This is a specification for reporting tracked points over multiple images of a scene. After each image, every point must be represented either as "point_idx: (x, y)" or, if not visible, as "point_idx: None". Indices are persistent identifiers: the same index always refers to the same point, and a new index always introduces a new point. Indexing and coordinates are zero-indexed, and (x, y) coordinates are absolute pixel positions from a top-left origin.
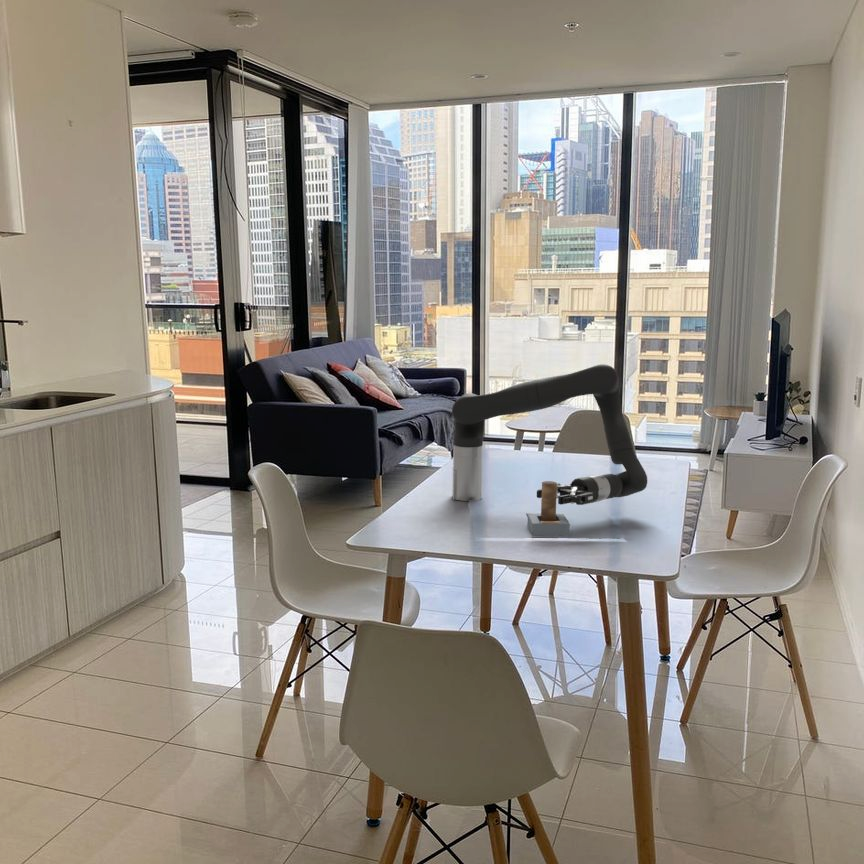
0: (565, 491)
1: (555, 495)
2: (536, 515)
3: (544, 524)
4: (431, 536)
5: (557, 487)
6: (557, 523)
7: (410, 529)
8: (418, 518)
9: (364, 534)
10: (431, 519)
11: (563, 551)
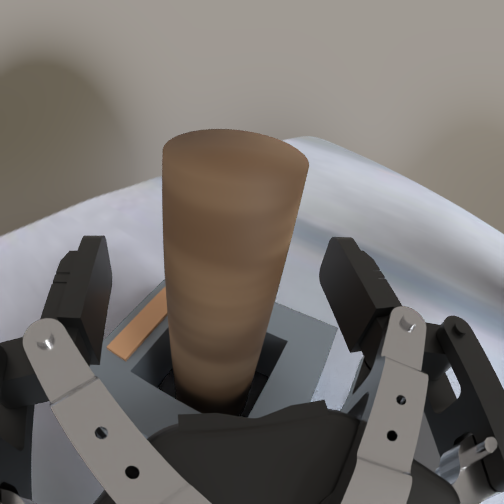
0: (243, 418)
1: (165, 255)
2: (294, 343)
3: (150, 296)
4: (312, 179)
5: (377, 379)
6: (111, 336)
7: (364, 181)
8: (435, 216)
9: (345, 149)
10: (430, 226)
11: (24, 296)
